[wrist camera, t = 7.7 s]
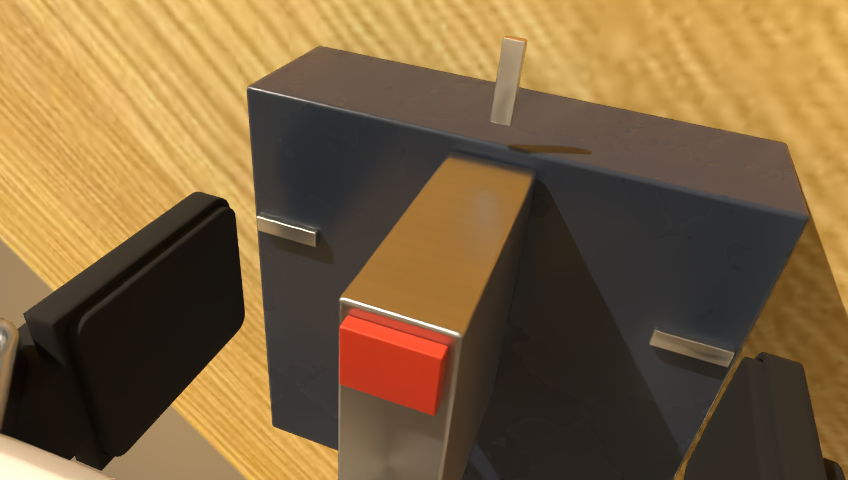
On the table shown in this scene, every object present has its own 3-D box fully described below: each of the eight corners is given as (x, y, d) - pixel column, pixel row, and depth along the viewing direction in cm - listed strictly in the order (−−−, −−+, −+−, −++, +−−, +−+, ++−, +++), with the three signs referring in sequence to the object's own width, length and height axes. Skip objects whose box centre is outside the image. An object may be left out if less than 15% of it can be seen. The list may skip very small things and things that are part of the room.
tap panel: (640, 464, 18) (632, 568, 15) (321, 357, 20) (268, 431, 17) (832, 45, 11) (874, 108, 8) (317, -43, 13) (231, -15, 11)
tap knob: (493, 390, 14) (420, 597, 10) (425, 368, 14) (329, 560, 10) (539, 168, 11) (457, 350, 7) (450, 148, 11) (327, 310, 7)
